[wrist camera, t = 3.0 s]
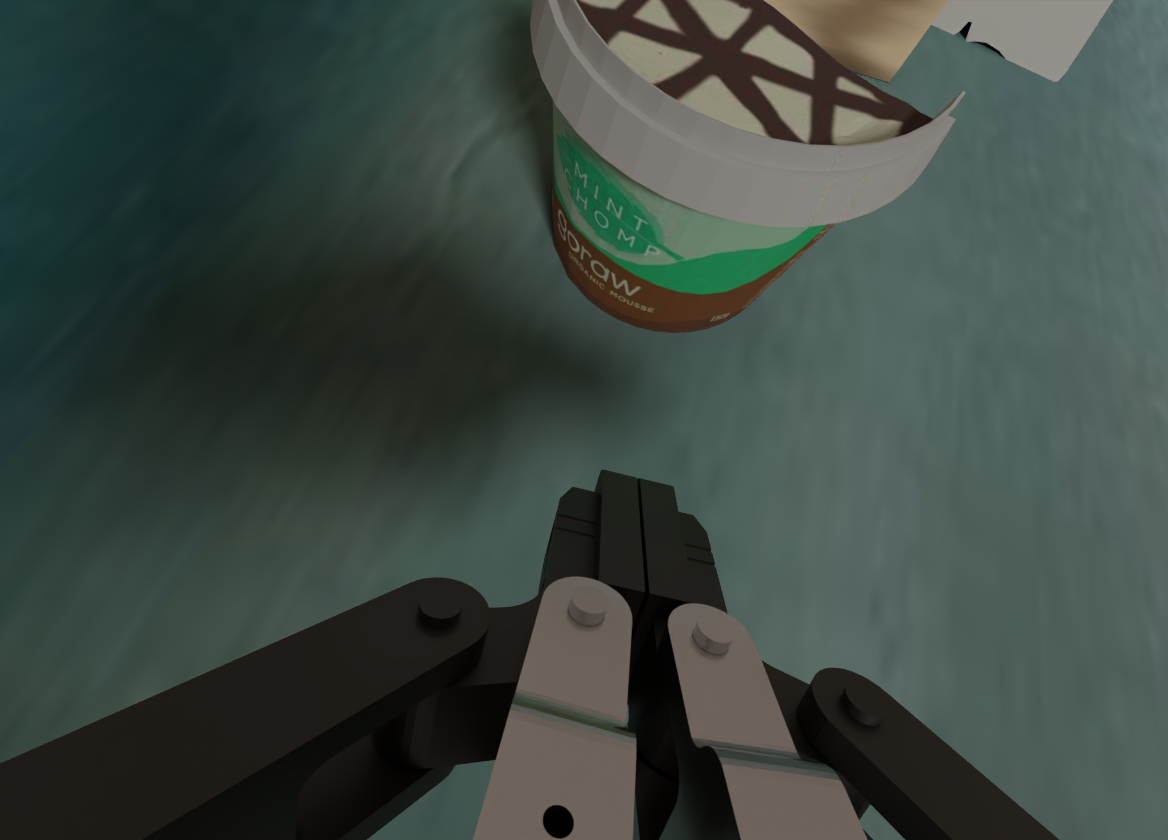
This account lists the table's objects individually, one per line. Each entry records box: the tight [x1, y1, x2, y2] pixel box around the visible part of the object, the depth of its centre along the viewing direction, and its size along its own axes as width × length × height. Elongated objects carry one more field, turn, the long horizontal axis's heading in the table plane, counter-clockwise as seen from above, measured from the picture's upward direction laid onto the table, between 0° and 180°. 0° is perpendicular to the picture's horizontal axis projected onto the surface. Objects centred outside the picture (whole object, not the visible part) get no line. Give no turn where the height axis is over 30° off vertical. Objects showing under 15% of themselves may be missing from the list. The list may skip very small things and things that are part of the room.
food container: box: [530, 0, 966, 333], centre depth 18 cm, size 12×6×10 cm, turn 56°
